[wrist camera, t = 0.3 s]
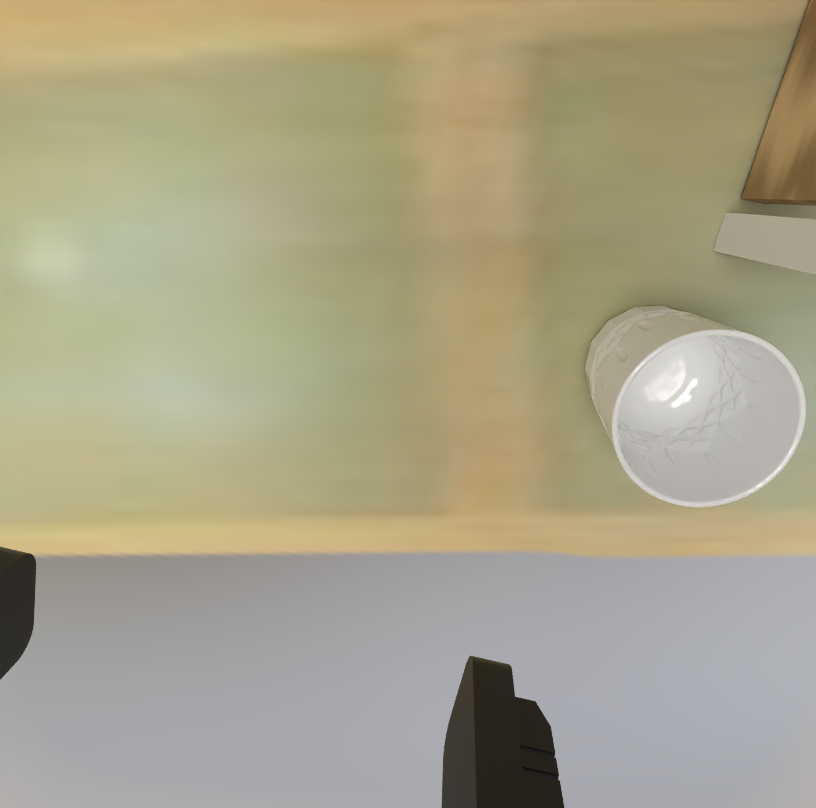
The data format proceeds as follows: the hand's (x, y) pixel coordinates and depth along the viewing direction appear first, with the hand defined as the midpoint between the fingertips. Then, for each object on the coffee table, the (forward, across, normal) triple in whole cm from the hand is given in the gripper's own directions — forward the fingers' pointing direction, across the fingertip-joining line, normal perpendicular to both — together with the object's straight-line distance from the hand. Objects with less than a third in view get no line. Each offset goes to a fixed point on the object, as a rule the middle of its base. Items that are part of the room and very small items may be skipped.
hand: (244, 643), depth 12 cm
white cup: (+28, -14, -1) cm, 31 cm away
